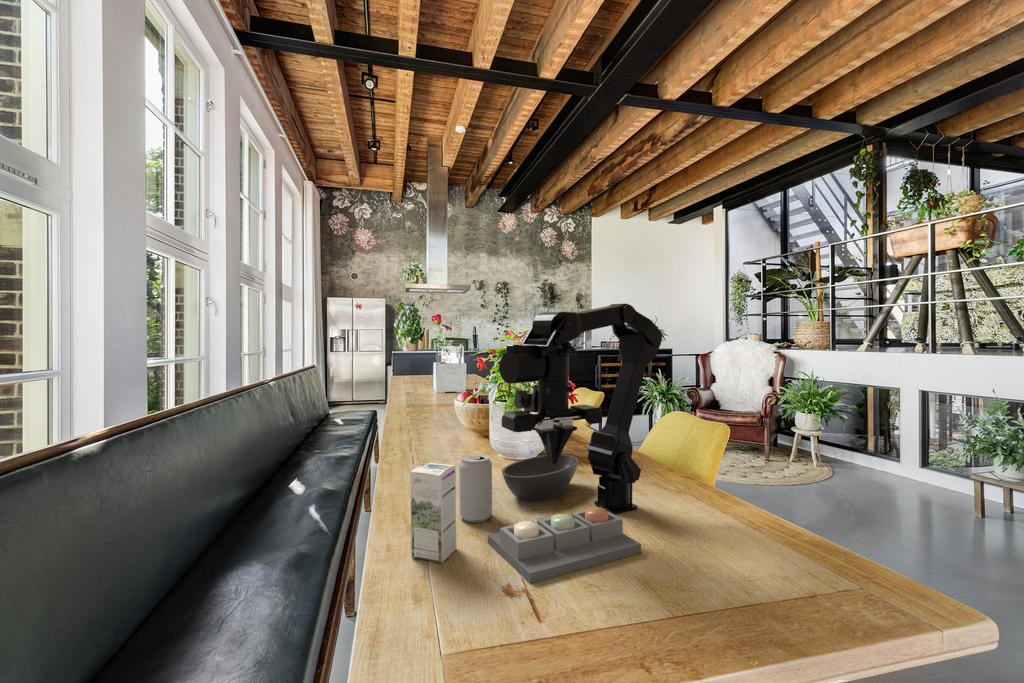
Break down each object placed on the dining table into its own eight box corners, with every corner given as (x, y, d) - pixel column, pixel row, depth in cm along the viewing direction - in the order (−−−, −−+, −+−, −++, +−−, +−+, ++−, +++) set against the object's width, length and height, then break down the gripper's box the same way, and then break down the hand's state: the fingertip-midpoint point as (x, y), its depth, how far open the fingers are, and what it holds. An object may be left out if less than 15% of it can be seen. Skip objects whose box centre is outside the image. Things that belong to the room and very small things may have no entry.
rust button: (598, 523, 89) (598, 505, 89) (612, 531, 86) (612, 513, 86) (580, 527, 88) (580, 509, 87) (593, 535, 84) (594, 517, 84)
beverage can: (487, 525, 93) (487, 462, 93) (455, 522, 94) (454, 460, 94) (495, 512, 99) (495, 453, 99) (464, 510, 101) (464, 452, 100)
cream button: (531, 538, 83) (531, 519, 83) (543, 548, 80) (543, 528, 79) (509, 543, 81) (509, 524, 81) (521, 553, 78) (521, 533, 78)
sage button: (566, 530, 86) (566, 512, 86) (579, 539, 83) (579, 520, 83) (546, 535, 84) (546, 516, 84) (559, 544, 81) (559, 524, 81)
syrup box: (457, 548, 84) (457, 463, 83) (441, 564, 78) (440, 473, 78) (427, 543, 85) (426, 460, 85) (409, 559, 80) (408, 470, 79)
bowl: (592, 486, 115) (592, 460, 115) (528, 512, 100) (528, 482, 99) (552, 475, 124) (552, 451, 124) (487, 497, 108) (487, 469, 108)
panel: (587, 521, 95) (587, 499, 95) (641, 553, 82) (641, 527, 82) (488, 543, 86) (487, 519, 85) (529, 583, 72) (529, 555, 72)
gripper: (571, 373, 103) (571, 448, 103) (489, 378, 94) (489, 459, 95) (604, 378, 93) (603, 461, 93) (515, 384, 84) (515, 475, 85)
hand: (553, 463), depth 92 cm, fingers closed
